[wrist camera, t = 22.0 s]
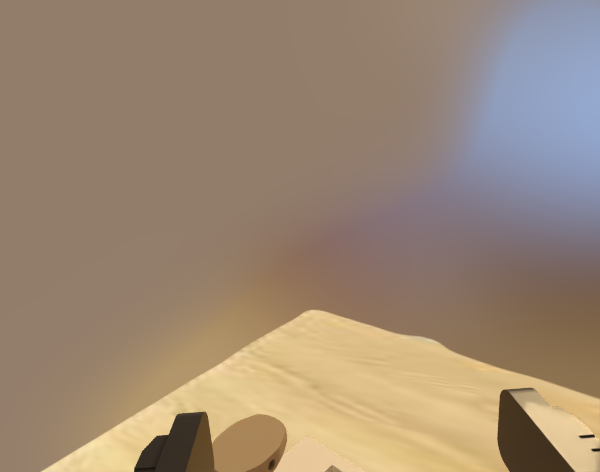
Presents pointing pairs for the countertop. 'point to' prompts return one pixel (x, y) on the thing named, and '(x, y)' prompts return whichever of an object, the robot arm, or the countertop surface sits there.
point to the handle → (250, 445)
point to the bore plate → (313, 459)
